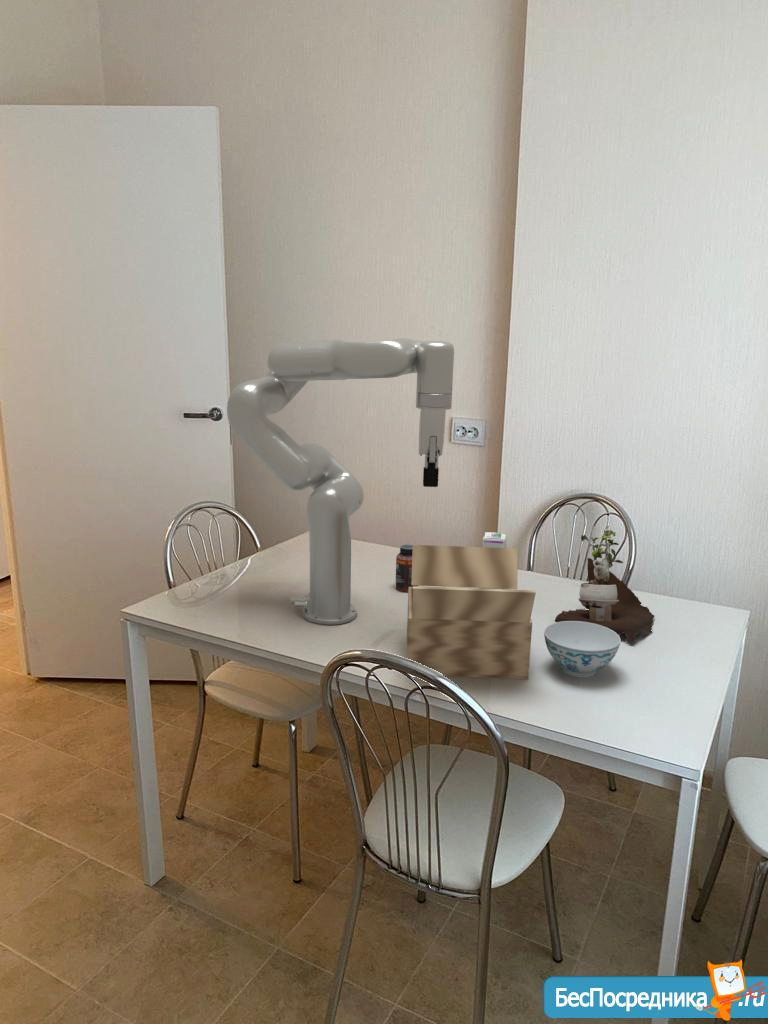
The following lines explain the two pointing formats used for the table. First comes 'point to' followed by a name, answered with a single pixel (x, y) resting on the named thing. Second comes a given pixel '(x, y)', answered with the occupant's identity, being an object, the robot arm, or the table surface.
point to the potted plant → (609, 597)
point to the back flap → (464, 566)
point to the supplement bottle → (404, 568)
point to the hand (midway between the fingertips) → (430, 485)
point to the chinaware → (581, 646)
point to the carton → (470, 646)
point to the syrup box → (494, 542)
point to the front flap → (472, 604)
